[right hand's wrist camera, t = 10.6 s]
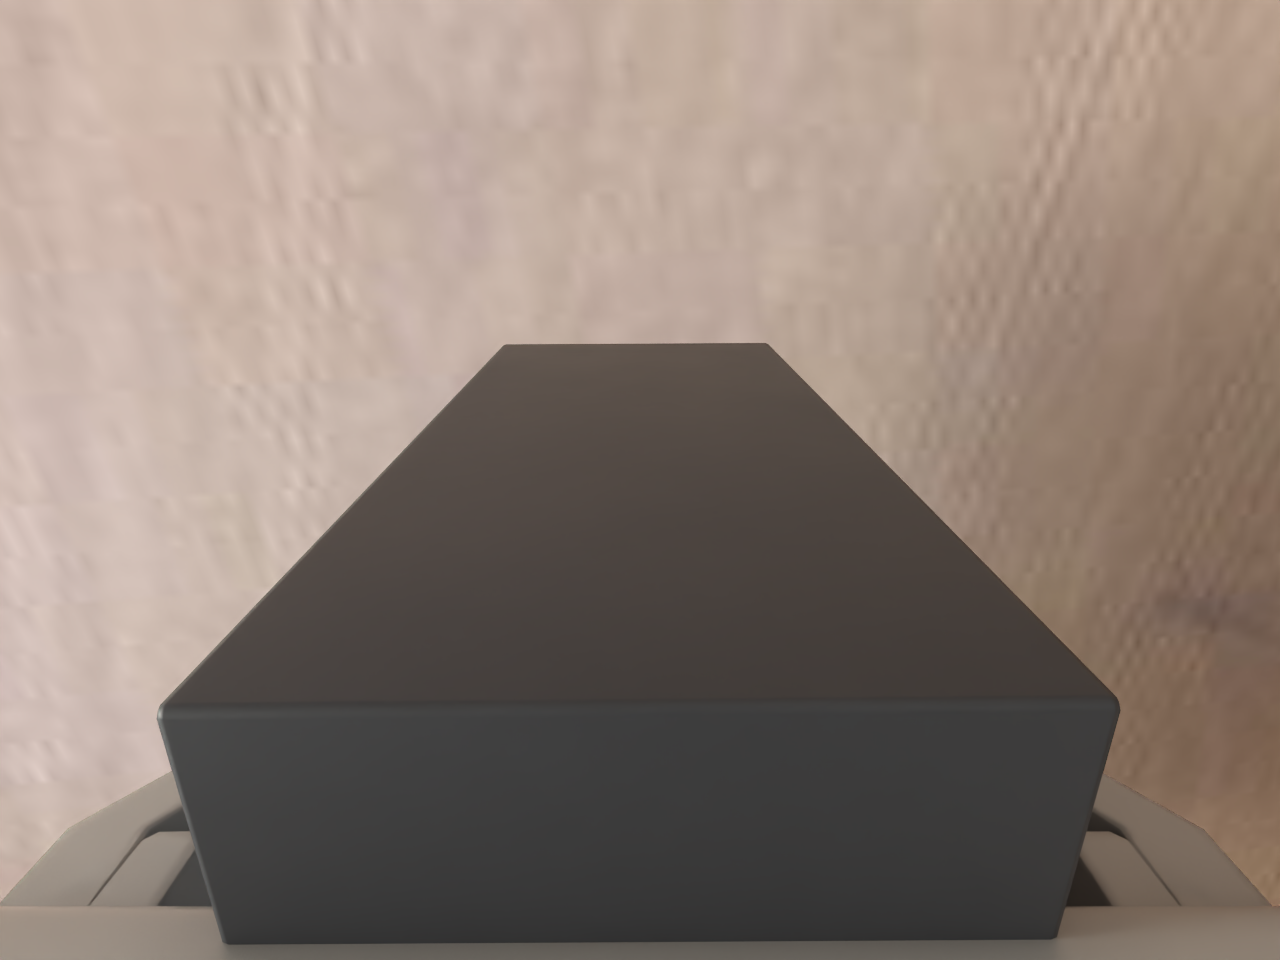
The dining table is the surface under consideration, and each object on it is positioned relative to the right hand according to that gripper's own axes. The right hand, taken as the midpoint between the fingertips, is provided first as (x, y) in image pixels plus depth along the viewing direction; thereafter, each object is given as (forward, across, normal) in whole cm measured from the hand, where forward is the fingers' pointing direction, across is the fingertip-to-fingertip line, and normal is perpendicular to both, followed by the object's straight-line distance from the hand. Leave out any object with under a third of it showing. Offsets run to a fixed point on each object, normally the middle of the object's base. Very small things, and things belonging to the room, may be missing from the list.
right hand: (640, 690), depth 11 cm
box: (+8, 0, -7) cm, 10 cm away
